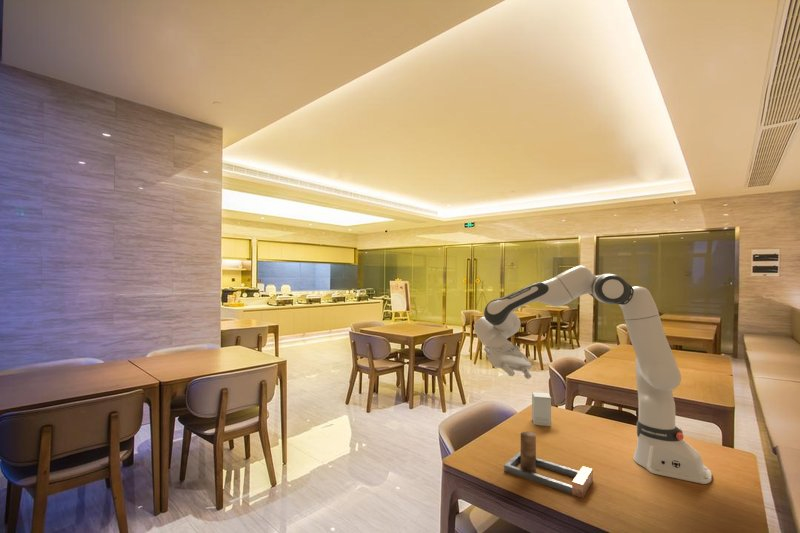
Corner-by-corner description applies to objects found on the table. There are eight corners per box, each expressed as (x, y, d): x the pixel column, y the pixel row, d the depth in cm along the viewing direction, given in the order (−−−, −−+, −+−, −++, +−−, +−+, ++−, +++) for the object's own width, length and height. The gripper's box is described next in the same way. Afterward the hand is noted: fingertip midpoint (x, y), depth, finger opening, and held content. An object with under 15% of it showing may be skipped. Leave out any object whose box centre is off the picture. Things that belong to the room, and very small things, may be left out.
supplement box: (551, 426, 172) (551, 397, 172) (533, 425, 173) (534, 396, 173) (548, 420, 179) (548, 392, 179) (531, 419, 180) (531, 391, 181)
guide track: (592, 481, 126) (592, 468, 126) (582, 498, 116) (582, 484, 116) (518, 457, 142) (518, 446, 142) (504, 471, 132) (504, 459, 132)
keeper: (537, 469, 134) (538, 434, 134) (532, 475, 130) (532, 439, 130) (523, 464, 137) (523, 430, 137) (518, 470, 133) (518, 435, 133)
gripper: (486, 339, 145) (507, 366, 134) (521, 347, 156) (543, 373, 145) (477, 351, 147) (496, 379, 136) (512, 358, 158) (533, 384, 147)
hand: (521, 376), depth 141 cm, fingers open, 8 cm apart
